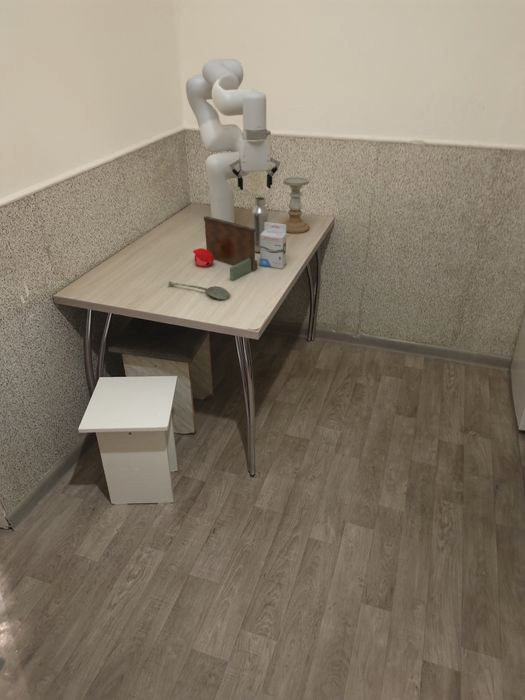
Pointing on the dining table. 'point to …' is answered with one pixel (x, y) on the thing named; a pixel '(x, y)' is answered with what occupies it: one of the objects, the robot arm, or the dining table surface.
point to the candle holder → (295, 205)
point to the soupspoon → (209, 290)
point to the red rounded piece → (203, 257)
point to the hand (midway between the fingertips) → (255, 188)
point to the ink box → (273, 245)
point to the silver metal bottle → (259, 219)
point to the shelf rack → (231, 245)
